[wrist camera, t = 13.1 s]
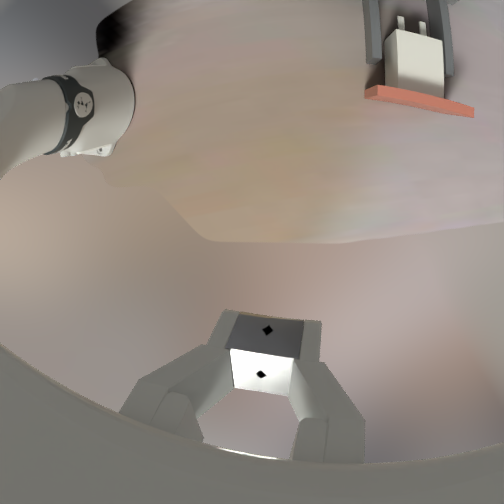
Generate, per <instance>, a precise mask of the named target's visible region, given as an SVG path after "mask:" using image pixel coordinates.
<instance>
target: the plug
mask: <svg viewBox="0 0 504 504" xmlns="http://www.w3.org/2000/svg"><path fill="white" fill-rule="evenodd" d="M397 23H398V29H396V30H395V31H394V32H393V33H392V34H391V35H390V36H389V37H388V38H387V39H386V40H385V41H384V53H385V86H383V85H376V86H373V87H371V88H368V89H366V90H365V99H372V100H379V101H385V102H391V103H397V104H402V105H408V106H412V107H417V108H422V109H426V110H431V111H435V112H439V113H443V114H449V115H457V116H464V117H471V118H474V108H473V107H470V106H467V105H464V104H460V103H457V102H454V101H450V100H447V99H444V63H443V46H442V41H441V40H438V39H434V38H431V37H427V34H426V24H425V22H421V21H419V32H420V34H416V33H412V32H408V31H405V24H404V17H401V16H397Z"/></svg>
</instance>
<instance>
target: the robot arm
mask: <svg viewBox="0 0 504 504" xmlns="http://www.w3.org/2000/svg"><path fill="white" fill-rule="evenodd" d="M133 111H134V92H133V88H132V85H131V82H130V80H129V79H128V77H127V76H126V75H125V74H124V73H123V72H122V71H120V70H118V69H116V68H114V67H113V66H111V64H110V63H109V61H108V60H107V59H106V58H98V59H96V60H95V61H94V62H92V63H90V64H89V65H86V66H74V67H71V69H70V70H68V71H67V72H66V73H65V74H64V75H53V76H49V77H45V78H43V79H42V80H37V81H29V82H22V83H16V84H10V85H7V86H5V87H4V88H2V89H1V90H0V180H1V178H2V177H3V176H4V175H5V174H6V173H7V172H8V171H9V170H11V169H12V168H14V167H16V166H17V165H19V164H21V163H23V162H25V161H27V160H29V159H31V158H34V157H36V156H39V155H41V154H44V155H49V154H54V153H58V152H60V156H61V157H67V156H70V155H71V156H75V155H78V154H90V155H98V156H109V155H111V154H112V152H113V150H114V147H115V144H116V142H117V140H118V139H119V138H120V137H121V136H122V135H123V133H124V132H125V131H126V129H127V128H128V126H129V124H130V121H131V119H132V115H133ZM101 148H102V150H101ZM321 327H322V323H321V321H314V320H305V321H304V320H300V319H291V318H282V317H273V316H266V315H259V314H253V313H247V312H238V311H233V310H227V309H225V310H224V311H223V312H222V314H221V316H220V318H219V320H218V322H217V324H216V326H215V328H214V330H213V332H212V334H211V336H210V338H209V340H208V342H207V344H206V345H203V344H201V345H200V346H198V347H196V348H194V349H193V350H191V351H189V352H187V353H186V354H184V355H182V356H180V357H179V358H177V359H175V360H173V361H172V362H170V363H168V364H166V365H164V366H163V367H161V368H159V369H157V370H155V371H154V372H152V373H150V374H148V375H146V376H144V377H142V378H141V379H139V380H138V382H137V383H136V385H135V387H134V388H133V390H132V392H131V393H130V395H129V397H128V398H127V400H126V401H125V403H124V405H123V406H122V408H121V410H120V411H119V413H117V412H115V411H113V410H110V409H108V408H106V407H104V406H102V405H100V404H98V403H96V402H94V401H91V400H90V399H88V398H86V397H84V396H82V395H80V394H78V393H76V392H74V391H73V390H71V389H69V388H67V387H65V386H64V385H62V384H60V383H59V382H57V381H55V380H53V379H52V378H50V377H49V376H47V375H45V374H44V373H42V372H41V371H39V370H37V369H36V368H34V367H33V366H31V365H30V364H28V363H27V362H26V361H24V360H23V359H21V358H20V357H18V356H17V355H16V354H14V353H13V352H11V351H10V350H9V349H7V348H6V347H5V346H3V345H2V344H1V343H0V504H504V442H502V443H499V444H495V445H492V446H488V447H485V448H481V449H477V450H473V451H468V452H464V453H459V454H454V455H448V456H443V457H437V458H430V459H422V460H414V461H405V462H404V461H403V462H390V463H364V456H365V419H364V418H363V416H362V415H361V414H360V412H359V411H358V409H357V408H356V407H355V405H354V404H353V402H352V401H351V400H350V398H349V397H348V395H347V394H346V392H345V391H344V390H343V389H342V387H341V385H340V384H339V383H338V381H337V380H336V378H335V377H334V376H333V374H332V373H331V371H330V370H329V369H328V367H327V366H326V364H325V363H324V362H319V357H320V342H321ZM301 341H302V342H301ZM234 387H235V388H241V389H247V390H254V391H261V392H266V393H272V394H279V395H285V396H288V399H289V401H290V403H291V405H292V407H293V410H294V412H295V414H296V416H297V418H298V420H299V426H298V429H297V433H296V436H295V440H294V443H293V447H292V450H291V453H290V457H289V459H282V458H274V457H268V456H261V455H255V454H250V453H245V452H240V451H235V450H231V449H226V448H221V447H218V446H213V445H210V444H206V443H202V442H203V439H204V437H203V435H202V432H201V430H200V427H199V424H198V421H197V419H198V418H199V417H200V416H201V415H203V414H204V413H205V412H206V411H208V410H209V409H210V408H211V407H213V406H214V405H215V404H216V403H217V402H219V401H220V400H221V399H222V398H224V397H225V396H226V395H227V394H228V393H229V392H231V391H232V390H233V389H234Z"/></svg>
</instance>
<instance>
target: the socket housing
mask: <svg viewBox="0 0 504 504" xmlns="http://www.w3.org/2000/svg"><path fill="white" fill-rule="evenodd" d="M457 1H459V0H426V3H427V10H428V17H429V26H430V36H431V38H434V39H438V40H441V41H442V46H443V63H444V78H446V77H452V76H454V63H453V47H452V36H451V27H450V20H449V13H448V6H447V3H448V4H451V5H453V4H454V3H456V2H457ZM362 2H363V12H364V25H365V42H366V63H367V64H374V65H375V64H376V63H377V62H379V61H380V60H381V59H382V44H381V28H380V16H379V6H378V0H362Z"/></svg>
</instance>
